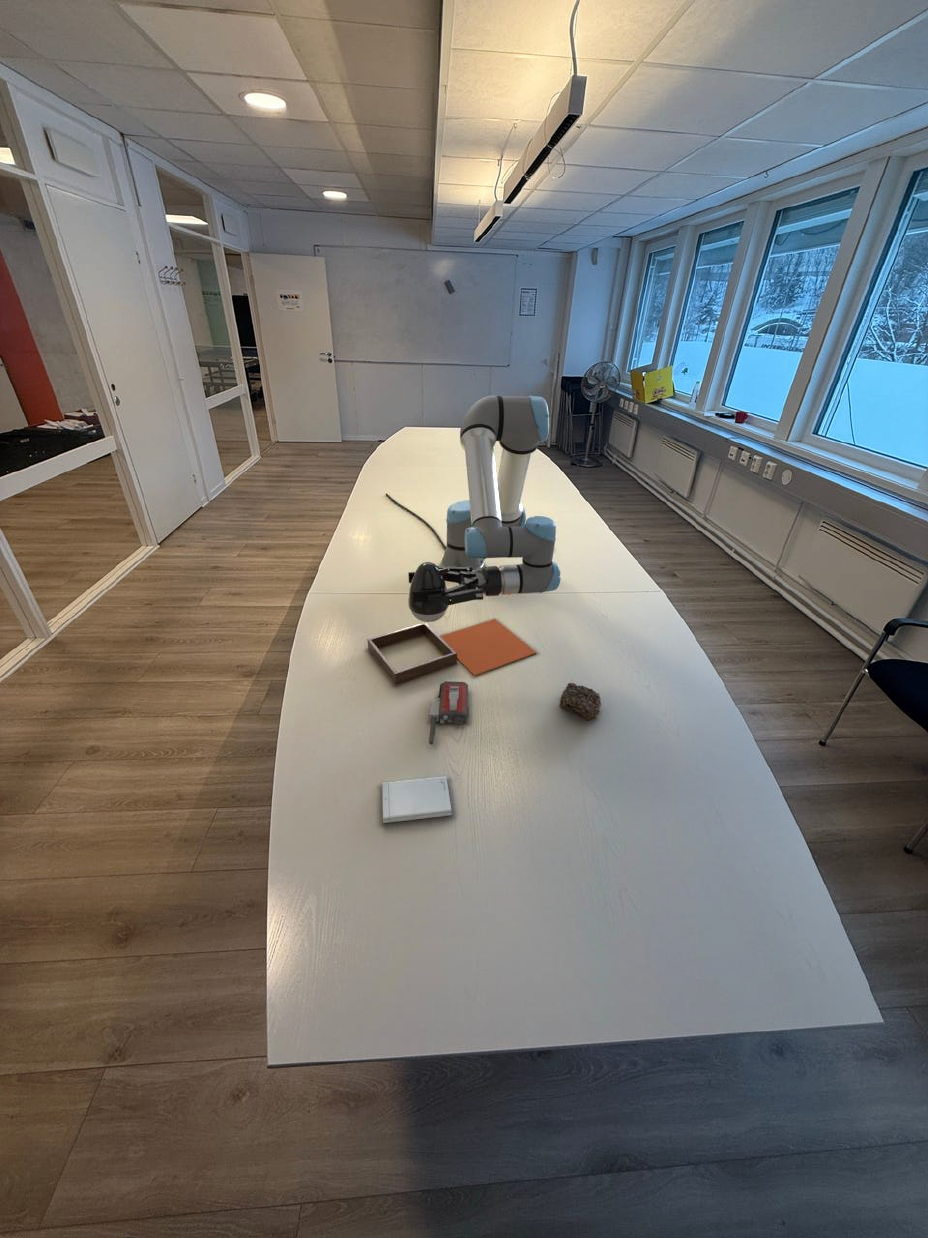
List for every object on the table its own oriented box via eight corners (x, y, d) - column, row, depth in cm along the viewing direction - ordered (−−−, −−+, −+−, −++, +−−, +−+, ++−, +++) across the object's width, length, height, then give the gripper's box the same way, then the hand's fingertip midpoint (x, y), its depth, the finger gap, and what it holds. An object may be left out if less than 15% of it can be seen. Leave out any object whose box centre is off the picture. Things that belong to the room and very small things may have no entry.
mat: (436, 638, 141) (436, 637, 141) (494, 620, 150) (494, 618, 150) (474, 676, 127) (474, 675, 127) (536, 653, 136) (536, 652, 136)
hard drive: (446, 775, 98) (382, 781, 96) (451, 810, 91) (382, 818, 89) (446, 781, 98) (382, 787, 97) (451, 816, 91) (383, 824, 90)
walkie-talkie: (432, 687, 123) (426, 748, 106) (432, 673, 120) (425, 733, 103) (468, 688, 123) (467, 749, 105) (469, 674, 120) (468, 734, 103)
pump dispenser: (444, 629, 123) (444, 574, 115) (403, 624, 125) (401, 569, 117) (453, 609, 132) (454, 556, 124) (415, 604, 133) (413, 552, 125)
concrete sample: (591, 730, 111) (595, 713, 108) (549, 713, 115) (552, 697, 113) (608, 702, 119) (612, 685, 117) (568, 687, 124) (571, 671, 121)
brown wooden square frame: (368, 649, 136) (367, 639, 134) (425, 632, 144) (425, 622, 142) (395, 685, 123) (394, 674, 121) (456, 664, 131) (457, 653, 129)
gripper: (509, 615, 119) (416, 623, 116) (488, 574, 138) (406, 580, 134) (512, 587, 116) (415, 594, 112) (489, 549, 134) (405, 554, 130)
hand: (410, 587), depth 123 cm, fingers closed on pump dispenser, 9 cm apart
